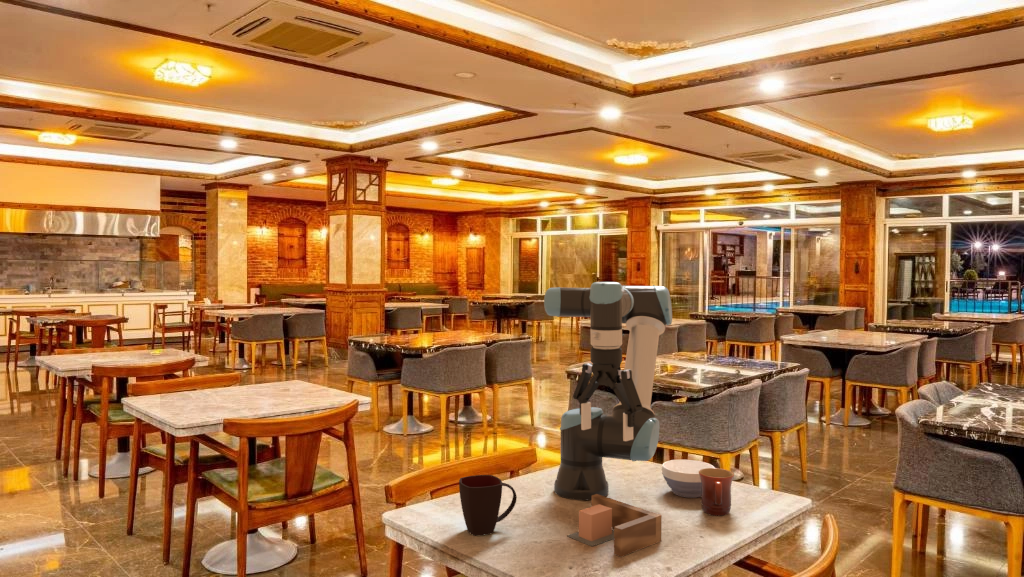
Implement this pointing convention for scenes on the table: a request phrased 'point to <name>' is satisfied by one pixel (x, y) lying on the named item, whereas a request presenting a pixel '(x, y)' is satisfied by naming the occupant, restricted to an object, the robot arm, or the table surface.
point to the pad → (594, 542)
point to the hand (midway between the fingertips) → (606, 434)
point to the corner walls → (631, 525)
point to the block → (595, 522)
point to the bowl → (684, 476)
